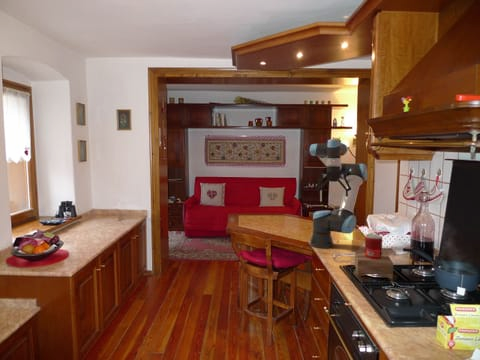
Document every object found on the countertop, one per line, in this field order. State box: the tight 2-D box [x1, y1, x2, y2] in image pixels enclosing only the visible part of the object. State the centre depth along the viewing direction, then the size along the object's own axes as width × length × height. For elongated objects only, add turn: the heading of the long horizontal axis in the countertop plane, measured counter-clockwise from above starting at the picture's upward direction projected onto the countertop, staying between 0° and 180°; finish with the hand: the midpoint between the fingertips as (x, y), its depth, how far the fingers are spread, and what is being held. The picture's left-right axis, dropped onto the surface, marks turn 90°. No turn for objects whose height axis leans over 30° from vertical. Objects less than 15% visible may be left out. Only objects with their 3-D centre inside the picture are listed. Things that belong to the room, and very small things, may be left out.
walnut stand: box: [354, 250, 394, 280], centre depth 164 cm, size 16×16×8 cm
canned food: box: [364, 233, 383, 259], centre depth 163 cm, size 8×8×11 cm
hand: (332, 201), depth 188 cm, fingers open, 13 cm apart
